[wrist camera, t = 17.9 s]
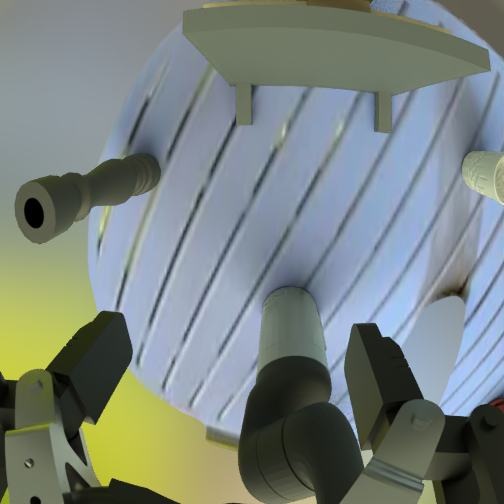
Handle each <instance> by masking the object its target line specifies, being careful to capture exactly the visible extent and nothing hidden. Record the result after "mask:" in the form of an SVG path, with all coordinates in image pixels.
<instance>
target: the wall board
mask: <svg viewBox="0 0 504 504" xmlns="http://www.w3.org/2000/svg"><path fill="white" fill-rule="evenodd" d="M182 34H183V35H184V36H185V37H186V38H187V39H188V40H189V41H190V42H191V43H192V44H193V45H194V46H195V47H196V48H197V49H198V50H199V52H200V53H201V54H202V55H203V56H204V57H205V58H206V59H207V60H208V61H209V62H210V63H211V65H212V66H213V67H214V68H215V69H216V70H217V71H218V72H219V73H220V75H221V76H222V77H223V78H224V79H225V80H226V81H227V82H228V84H229V85H230V86H236V125H252V86H306V87H322V88H334V89H345V90H354V91H362V92H370V93H374V94H375V132H382V133H392V96H394V95H398V94H401V93H404V92H408V91H411V90H414V89H418V88H421V87H425V86H429V85H433V84H436V83H440V82H444V81H448V80H452V79H456V78H461V77H465V76H469V75H474V74H479V73H484V72H489V71H491V68H490V59H489V52H488V50H487V49H485V48H483V47H480V46H478V45H476V44H473V43H471V42H468V41H466V40H463V39H461V38H458V37H455V36H453V35H451V32H450V31H449V30H446V29H443V28H440V27H437V26H434V25H431V24H428V23H425V22H421V21H418V20H414V19H411V18H407V17H403V16H399V15H395V14H391V13H386V12H381V11H376V10H371V13H366V12H360V11H353V10H346V9H339V8H330V7H320V6H307V1H290V0H251V1H232V2H219V3H210V4H203V8H202V9H194V10H187V11H184V13H183V32H182Z"/></svg>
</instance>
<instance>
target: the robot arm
mask: <svg viewBox="0 0 504 504" xmlns="http://www.w3.org/2000/svg"><path fill="white" fill-rule="evenodd" d="M325 351H326V343H325V338H324V333H323V329H322V324H321V319H320V315H319V314H318V312H317V307H316V303H315V300H314V299H313V297H312V296H311V295H310V294H309V293H308V292H307V291H305V290H303V289H301V288H297V287H284V288H280V289H277V290H275V291H274V292H272V293H271V294H270V295H269V296H268V297H267V298H266V300H265V301H264V304H263V310H262V320H261V331H260V342H259V353H258V365H257V376H256V385H255V386H254V387H253V389H252V390H251V392H250V394H249V396H248V399H247V404H246V409H245V414H244V419H243V424H242V430H241V435H240V440H239V448H238V465H239V471H240V475H241V478H242V481H243V483H244V485H245V487H246V489H247V490H248V492H249V493H250V494H251V495H252V496H253V497H254V498H256V499H257V500H259V501H260V502H263V503H265V504H286V503H290V502H294V501H297V500H301V499H304V498H308V497H311V496H315V495H316V500H317V504H417V502H418V500H419V498H420V496H421V494H422V492H423V489H424V484H422V480H432V482H433V487H434V492H435V497H436V502H437V504H504V412H503V411H502V410H501V409H499V408H498V407H496V406H493V405H489V404H484V405H480V406H478V407H476V408H475V409H474V410H473V411H472V413H471V414H470V416H469V417H464V416H449V415H444V413H443V411H442V410H441V408H440V407H439V406H438V405H436V404H435V403H433V402H431V401H428V400H424V398H423V395H422V393H421V391H420V389H419V387H418V384H417V382H416V380H415V377H414V375H413V373H412V372H411V369H410V367H408V366H409V365H408V363H407V360H406V359H405V358H404V354H403V352H402V350H401V348H400V346H399V345H398V344H397V343H396V342H395V341H393V340H392V339H391V338H390V337H382V335H381V333H380V331H379V329H378V327H377V325H376V323H358V324H353V326H352V329H351V333H350V338H349V343H348V348H347V352H346V357H345V364H344V371H345V378H346V382H347V386H348V391H349V395H350V400H351V404H352V409H353V414H354V419H355V423H356V428H357V433H358V438H359V444H360V449H361V451H362V450H371V449H372V451H373V457H372V459H371V460H370V462H369V463H368V464H367V466H366V467H365V469H364V465H363V460H362V456H361V452H360V449H359V445H358V442H357V439H356V437H355V434H354V432H353V429H352V427H351V425H350V423H349V422H348V420H347V418H346V417H345V415H344V414H343V413H342V412H341V411H340V410H339V409H338V408H337V407H336V406H335V405H333V404H331V403H328V401H329V399H330V396H331V391H332V386H331V379H330V374H329V369H328V364H327V358H326V353H325ZM132 354H133V349H132V344H131V340H130V337H129V333H128V329H127V325H126V321H125V318H124V315H123V314H122V313H120V312H111V311H101V312H100V313H99V314H98V315H97V317H96V318H95V319H94V320H93V321H92V322H90V323H88V324H87V325H85V326H83V327H82V328H80V329H79V330H78V331H77V332H76V333H75V335H74V336H73V337H72V339H70V340H69V342H68V343H67V344H66V346H64V347H63V349H62V350H61V351H60V352H59V353H58V355H57V356H56V357H55V358H54V360H53V361H52V362H51V363H50V364H49V365H48V367H47V368H46V369H45V370H43V369H34V370H30V371H28V372H26V373H25V374H23V376H21V377H20V378H19V380H16V381H15V380H5V379H4V377H3V375H2V373H1V372H0V502H1V500H2V498H3V496H4V493H5V491H6V489H7V487H8V491H9V498H10V504H180V503H178V502H175V501H173V500H171V499H168V498H166V497H164V496H162V495H160V494H158V493H156V492H154V491H152V490H150V489H148V488H144V487H140V486H137V485H133V484H129V483H126V482H123V481H119V480H116V479H113V478H112V479H111V481H110V484H109V486H101V484H100V482H99V480H98V479H97V477H96V475H95V473H94V470H93V467H92V464H91V460H90V457H89V454H88V450H87V446H86V442H85V438H84V434H83V431H82V429H81V427H80V426H81V424H82V422H83V421H84V422H87V423H90V424H93V425H96V423H97V421H98V419H99V418H100V416H101V414H102V412H103V410H104V408H105V406H106V405H107V403H108V401H109V399H110V397H111V395H112V394H113V392H114V390H115V388H116V387H117V385H118V383H119V381H120V379H121V378H122V375H123V374H124V373H125V371H126V369H127V367H128V366H129V364H130V362H131V359H132ZM227 504H240V503H227Z"/></svg>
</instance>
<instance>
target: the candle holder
mask: <svg viewBox="0 0 504 504" xmlns="http://www.w3.org/2000/svg"><path fill="white" fill-rule="evenodd" d="M160 173H161V170H160V167H159V163H158V162H157V161H156V159H155V158H154V157H152V156H151V155H149V154H143V153H140V154H134V155H131V156H128V157H125V158H124V159H122V160H121V159H110V160H107V161H105V162H103V163H101V164H100V165H99V166H97V167H96V168H95V169H94V170H92V171H91V172H89V173H88V174H86V175H83V176H82V175H80V174H78V173H71V172H70V173H67V174H65V175H63V176H61V177H59V176H51V175H50V176H46V177H42V178H39V179H35V180H32V181H29V182H27V183H25V184H24V185H22V186H21V188H20V189H19V191H18V192H17V195H16V200H15V216H16V219H17V222H18V226H19V228H20V229H21V231H22V233H23V234H24V236H25V237H26V238H28V239H29V240H30V241H31V242H33V243H38V244H42V243H45V242H47V241H49V240H51V239H53V238H54V237H56V236H58V235H60V234H61V233H63V232H65V231H67V230H68V228H69V227H70V226H71V225H72V224H73V222H77V221H79V220H82V219H84V218H85V217H86V216H87V215H88V214H89V212H90V210H91V208H93V207H95V206H115V205H119V204H122V203H124V202H126V201H127V200H128V199H129V198H130V197H131V196H137V195H140V194H143V193H146V192H148V191H150V190H152V189H153V188H154V187H155V186H156V185H157V183H158V181H159V179H160Z"/></svg>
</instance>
